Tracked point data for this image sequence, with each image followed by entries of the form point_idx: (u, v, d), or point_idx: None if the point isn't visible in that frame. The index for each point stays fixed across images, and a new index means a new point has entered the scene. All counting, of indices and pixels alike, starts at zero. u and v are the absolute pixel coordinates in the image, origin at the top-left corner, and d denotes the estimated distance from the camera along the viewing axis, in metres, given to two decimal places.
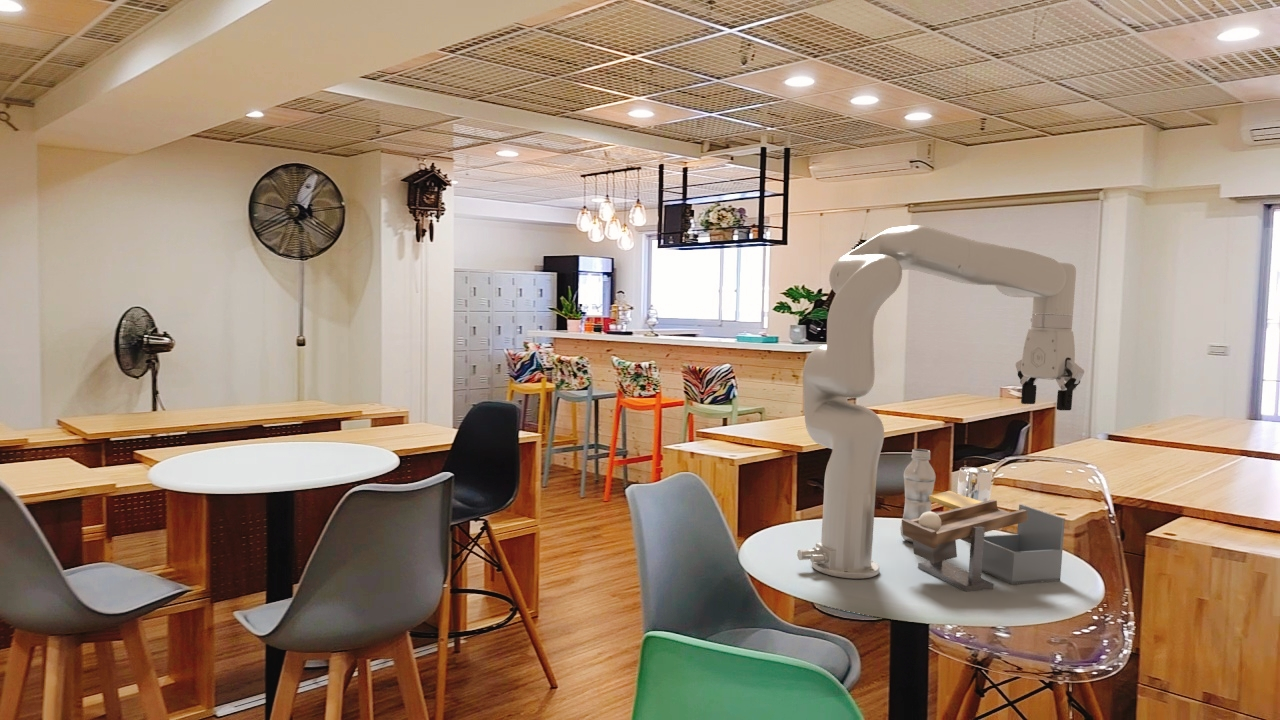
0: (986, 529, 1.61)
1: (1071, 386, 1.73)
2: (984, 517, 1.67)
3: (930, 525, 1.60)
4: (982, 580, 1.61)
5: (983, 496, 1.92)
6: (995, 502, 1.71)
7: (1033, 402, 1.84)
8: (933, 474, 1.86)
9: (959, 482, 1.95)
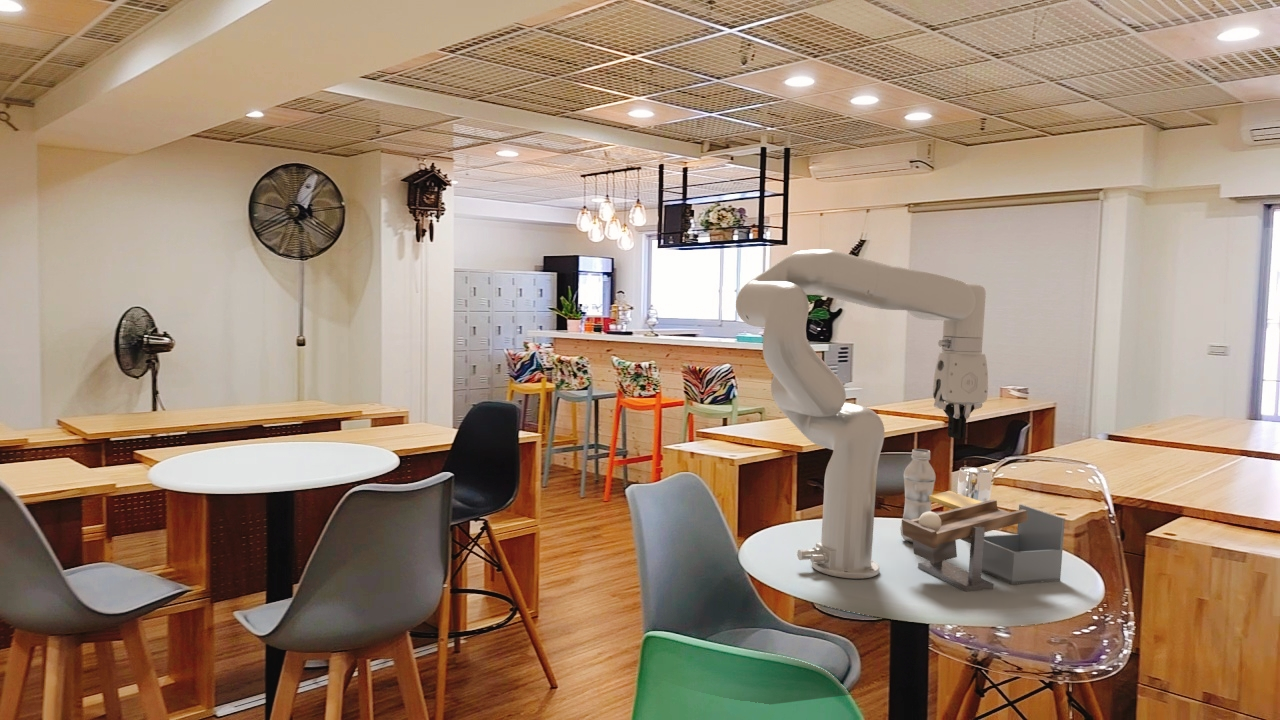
0: (986, 529, 1.61)
1: None
2: (984, 517, 1.67)
3: (930, 525, 1.60)
4: (982, 580, 1.61)
5: (983, 496, 1.92)
6: (995, 502, 1.71)
7: None
8: (933, 474, 1.86)
9: (959, 482, 1.95)
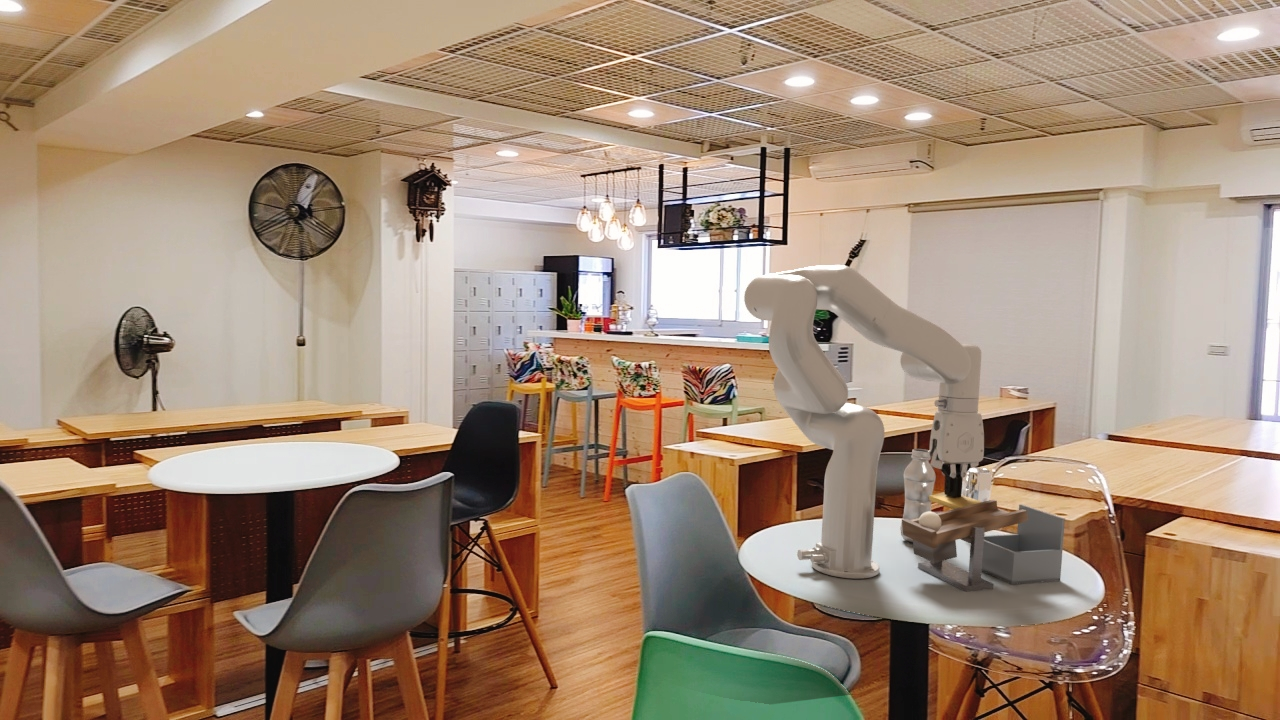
0: (986, 529, 1.61)
1: None
2: (984, 517, 1.67)
3: (930, 525, 1.60)
4: (982, 580, 1.61)
5: (983, 496, 1.92)
6: (995, 502, 1.71)
7: None
8: (933, 474, 1.86)
9: None
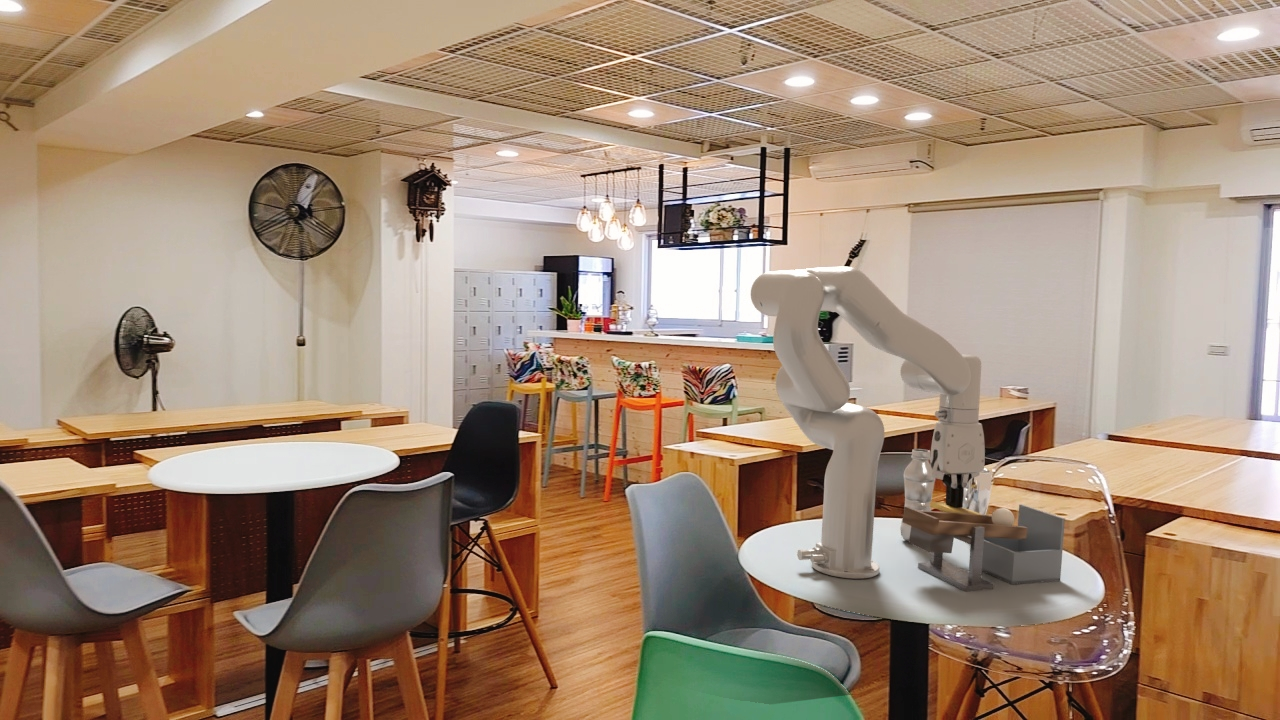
0: (986, 533, 1.61)
1: None
2: None
3: (1011, 515, 1.66)
4: (982, 580, 1.61)
5: (983, 496, 1.92)
6: None
7: None
8: None
9: None
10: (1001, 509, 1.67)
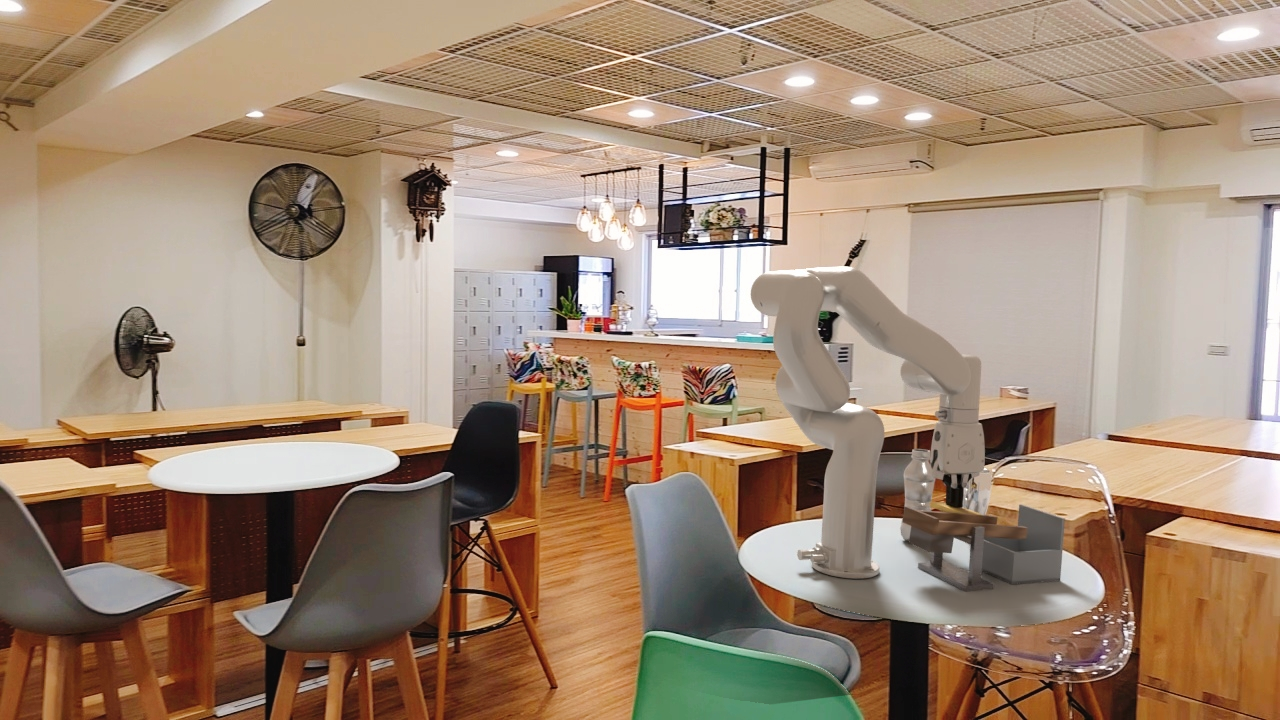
0: (986, 533, 1.61)
1: None
2: None
3: None
4: (982, 580, 1.61)
5: (983, 496, 1.92)
6: (996, 518, 1.71)
7: None
8: None
9: None
10: None
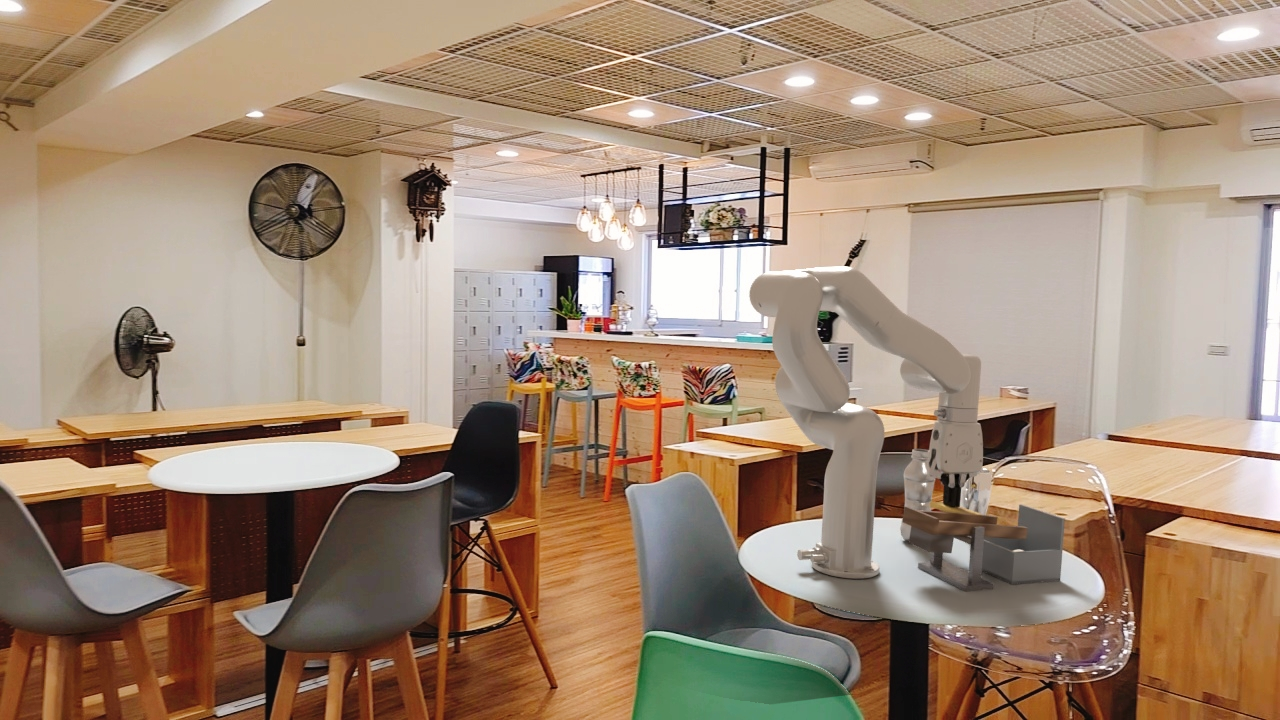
0: (986, 533, 1.61)
1: None
2: None
3: None
4: (982, 580, 1.61)
5: (983, 496, 1.92)
6: (996, 518, 1.71)
7: None
8: None
9: None
10: None
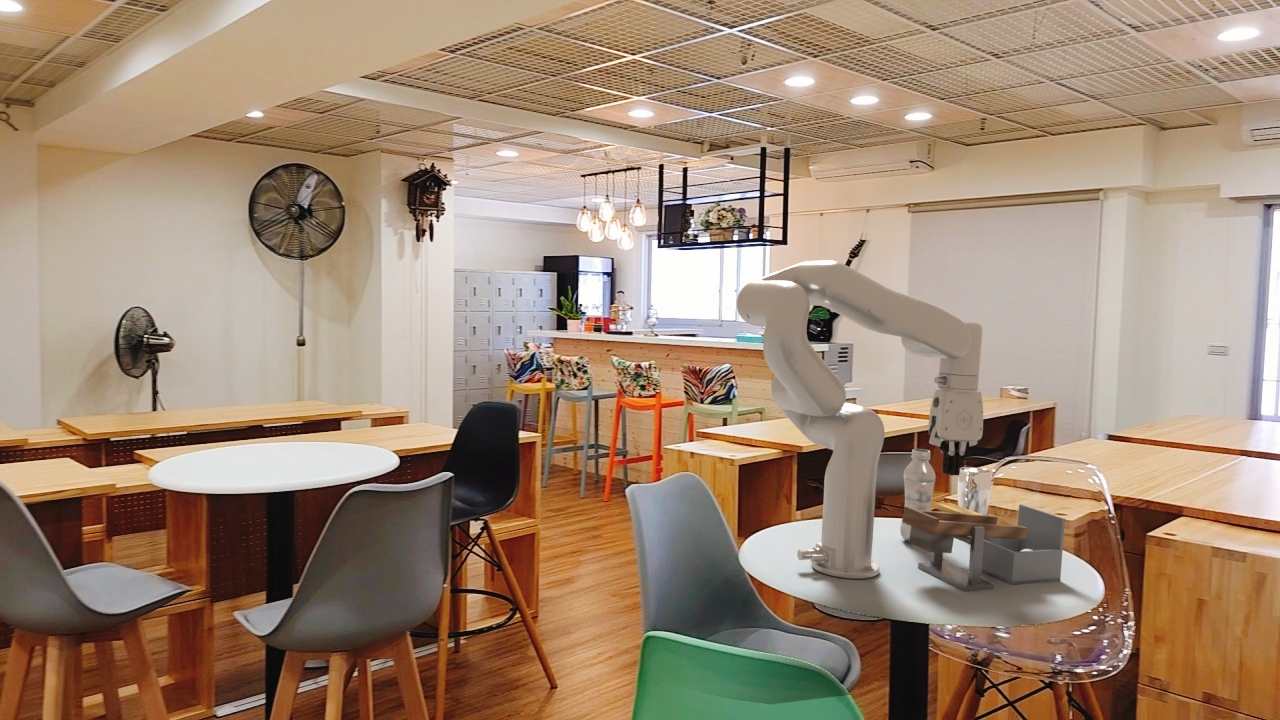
0: (986, 533, 1.61)
1: None
2: None
3: None
4: (982, 580, 1.61)
5: (983, 496, 1.92)
6: (996, 518, 1.71)
7: None
8: (933, 474, 1.86)
9: (959, 482, 1.95)
10: None
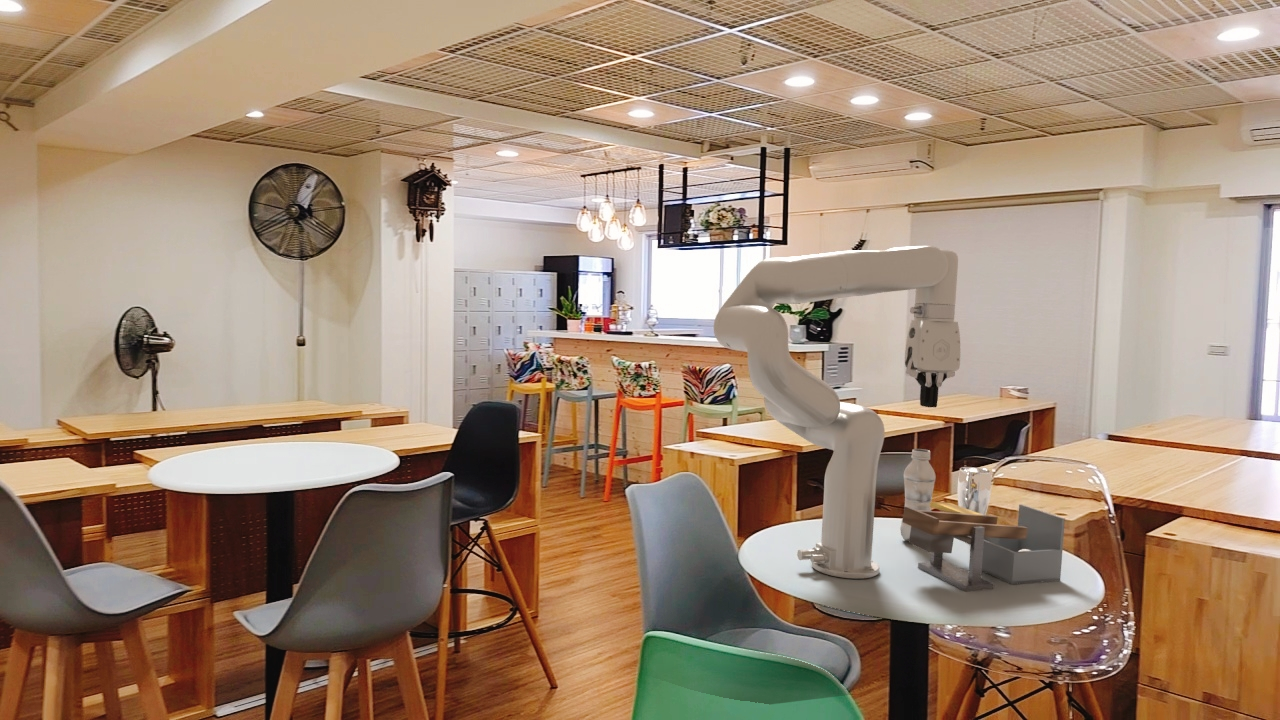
0: (986, 533, 1.61)
1: None
2: None
3: None
4: (982, 580, 1.61)
5: (983, 496, 1.92)
6: (996, 518, 1.71)
7: None
8: (933, 474, 1.86)
9: (959, 482, 1.95)
10: None
